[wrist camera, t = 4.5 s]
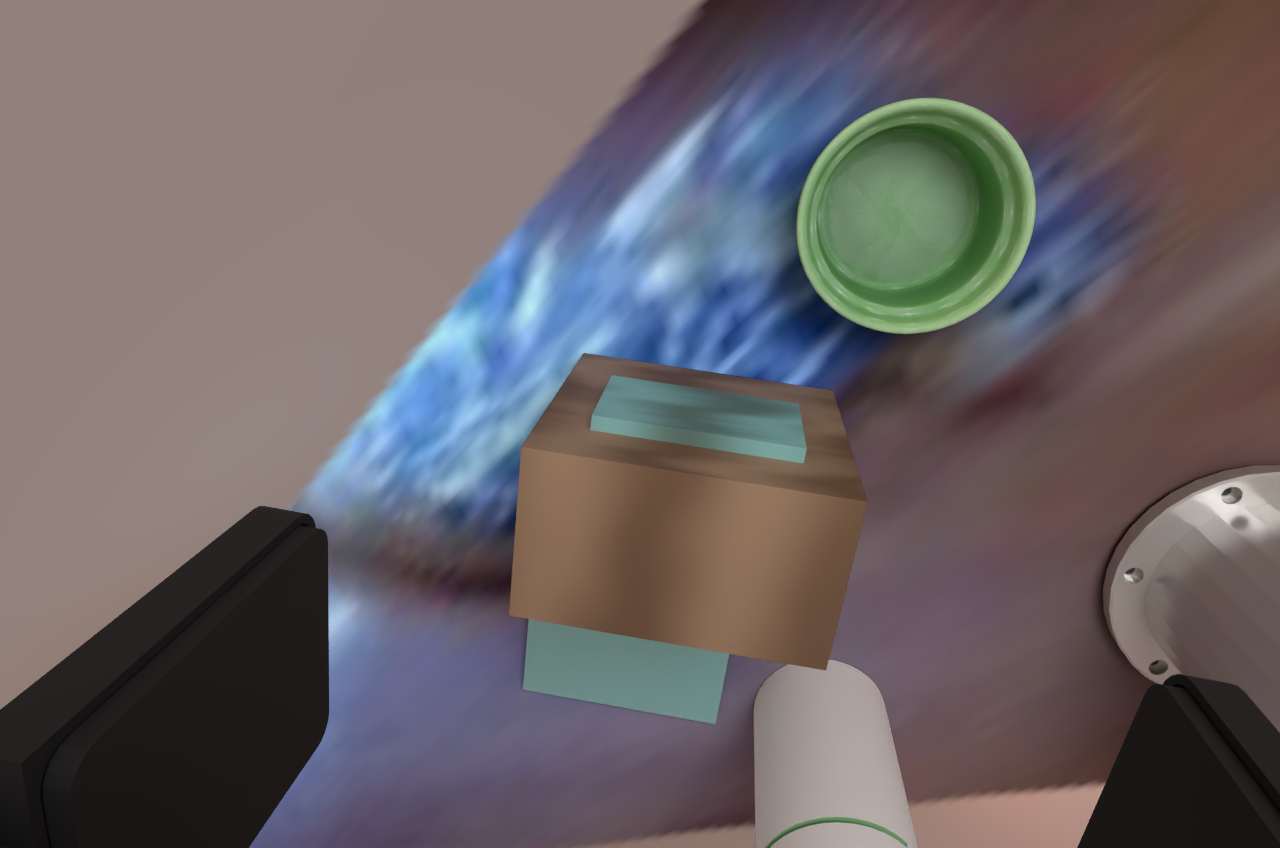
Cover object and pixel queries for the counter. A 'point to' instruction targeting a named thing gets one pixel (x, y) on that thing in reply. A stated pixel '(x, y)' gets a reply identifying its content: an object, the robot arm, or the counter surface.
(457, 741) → the counter surface
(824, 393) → the walnut housing
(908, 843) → the cylindrical container
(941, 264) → the ramekin
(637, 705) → the teal pad
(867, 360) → the counter surface
